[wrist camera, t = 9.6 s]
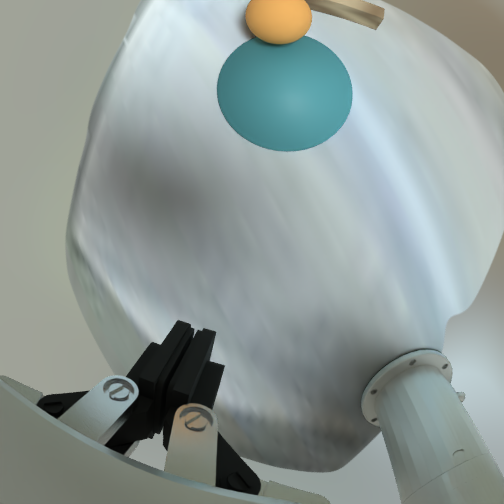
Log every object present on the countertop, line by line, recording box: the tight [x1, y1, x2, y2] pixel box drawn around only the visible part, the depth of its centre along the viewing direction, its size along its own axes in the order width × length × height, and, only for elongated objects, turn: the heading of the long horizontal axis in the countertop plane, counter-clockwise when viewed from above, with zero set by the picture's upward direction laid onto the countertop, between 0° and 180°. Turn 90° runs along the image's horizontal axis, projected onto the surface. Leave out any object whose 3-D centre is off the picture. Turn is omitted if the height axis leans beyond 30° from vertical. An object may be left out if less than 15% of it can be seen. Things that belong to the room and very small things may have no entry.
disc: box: [217, 36, 352, 151], centre depth 22 cm, size 12×12×1 cm
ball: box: [245, 0, 312, 44], centre depth 17 cm, size 6×6×6 cm
